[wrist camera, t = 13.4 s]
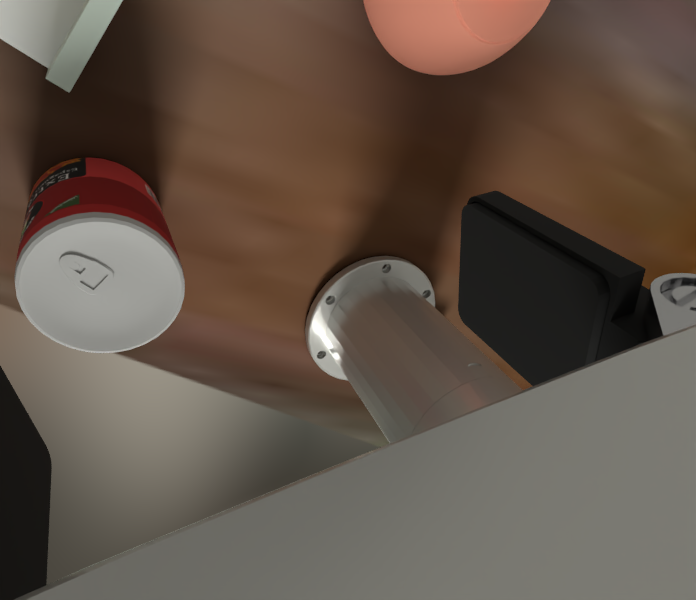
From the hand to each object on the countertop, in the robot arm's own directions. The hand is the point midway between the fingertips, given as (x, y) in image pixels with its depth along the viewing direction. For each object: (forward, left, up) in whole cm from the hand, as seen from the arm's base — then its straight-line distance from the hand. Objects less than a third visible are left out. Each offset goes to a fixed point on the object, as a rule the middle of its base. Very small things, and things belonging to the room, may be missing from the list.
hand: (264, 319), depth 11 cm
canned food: (-2, +9, -28) cm, 30 cm away
